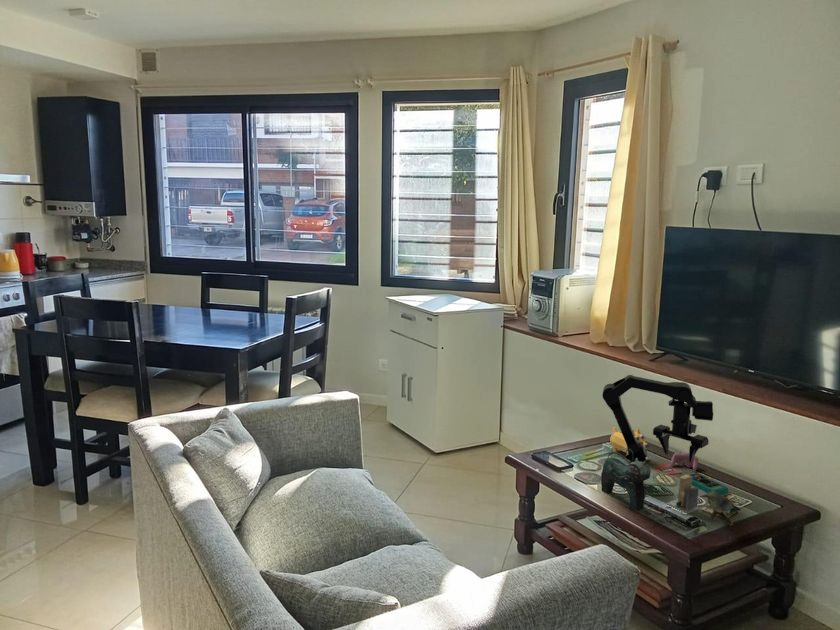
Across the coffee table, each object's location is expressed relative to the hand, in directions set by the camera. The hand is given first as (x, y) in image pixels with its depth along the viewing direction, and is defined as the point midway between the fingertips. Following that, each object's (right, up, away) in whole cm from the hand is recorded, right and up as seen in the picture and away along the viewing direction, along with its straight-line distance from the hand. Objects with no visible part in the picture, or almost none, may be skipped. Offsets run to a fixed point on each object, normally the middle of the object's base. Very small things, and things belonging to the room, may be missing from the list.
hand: (678, 457), depth 236 cm
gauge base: (-4, -15, -12) cm, 19 cm away
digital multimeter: (+11, -12, +3) cm, 17 cm away
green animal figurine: (-23, -14, -7) cm, 28 cm away
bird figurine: (+5, -16, -21) cm, 27 cm away
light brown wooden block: (-4, -13, -14) cm, 19 cm away
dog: (-8, -7, +32) cm, 34 cm away
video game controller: (+11, -9, +21) cm, 25 cm away
